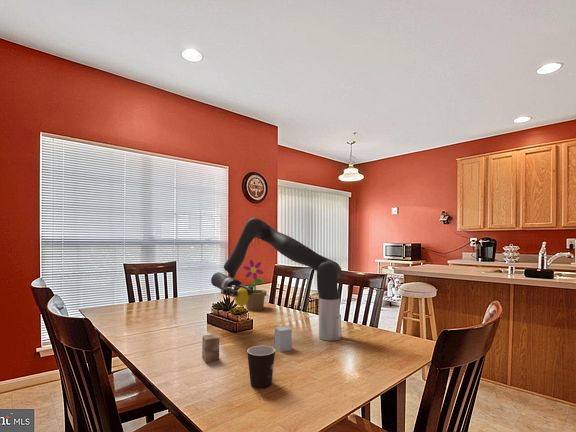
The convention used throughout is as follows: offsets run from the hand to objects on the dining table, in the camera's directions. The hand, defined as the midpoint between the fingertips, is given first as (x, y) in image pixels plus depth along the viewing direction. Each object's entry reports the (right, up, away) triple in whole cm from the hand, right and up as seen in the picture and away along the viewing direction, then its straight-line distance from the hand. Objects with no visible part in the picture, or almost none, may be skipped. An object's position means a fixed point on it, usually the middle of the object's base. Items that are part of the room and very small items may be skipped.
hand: (243, 293), depth 132 cm
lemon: (-1, -6, +2) cm, 7 cm away
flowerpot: (-2, -25, +67) cm, 71 cm away
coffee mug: (+10, -20, -31) cm, 38 cm away
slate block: (+16, -22, -2) cm, 27 cm away
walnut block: (-10, -21, -12) cm, 27 cm away
